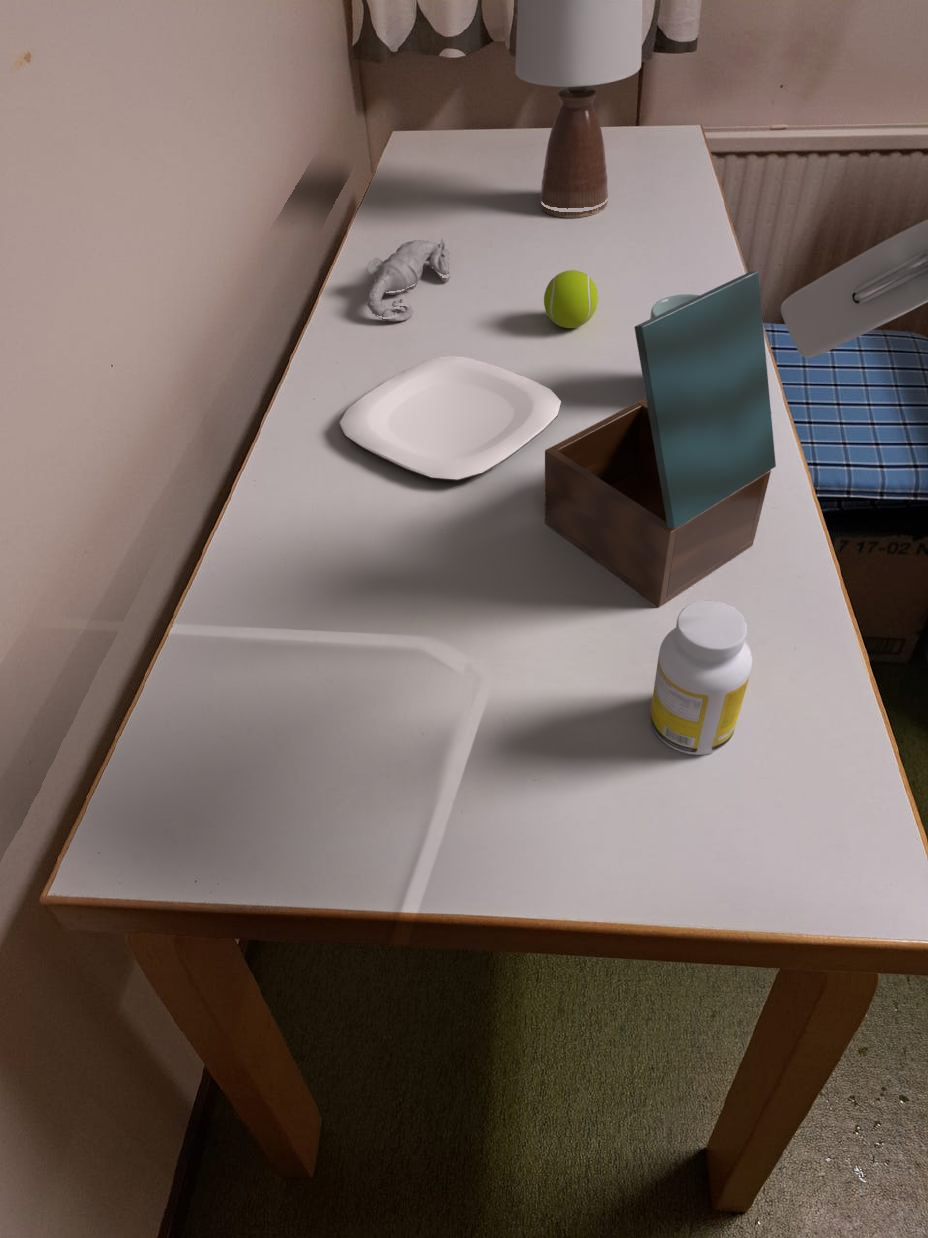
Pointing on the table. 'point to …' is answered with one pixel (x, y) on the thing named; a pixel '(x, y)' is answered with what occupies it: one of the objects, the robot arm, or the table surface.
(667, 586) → the wooden box
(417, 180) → the table surface
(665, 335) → the teal box lid
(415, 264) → the seahorse
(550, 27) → the lamp
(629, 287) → the table surface
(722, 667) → the pill bottle
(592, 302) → the tennis ball
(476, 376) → the plate
